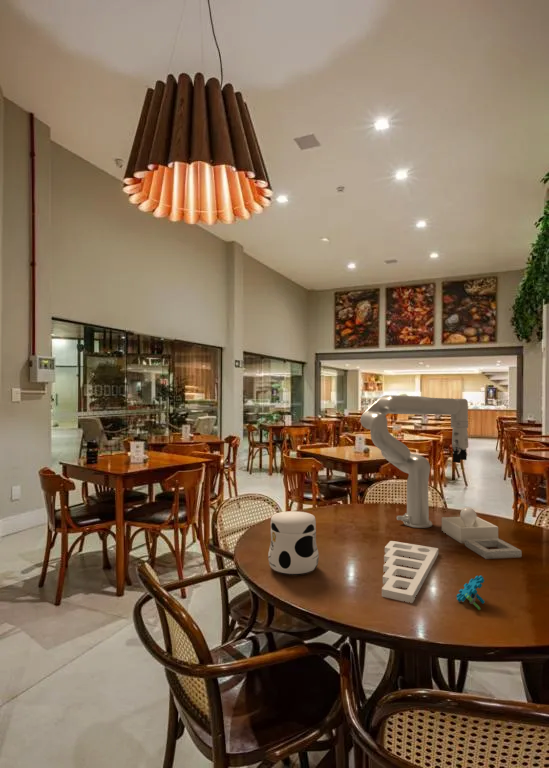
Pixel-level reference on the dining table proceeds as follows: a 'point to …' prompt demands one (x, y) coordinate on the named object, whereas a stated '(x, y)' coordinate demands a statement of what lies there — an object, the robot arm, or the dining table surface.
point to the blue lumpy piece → (471, 591)
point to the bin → (468, 529)
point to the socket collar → (502, 552)
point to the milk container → (293, 543)
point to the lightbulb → (468, 516)
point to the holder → (406, 569)
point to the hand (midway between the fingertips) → (459, 461)
